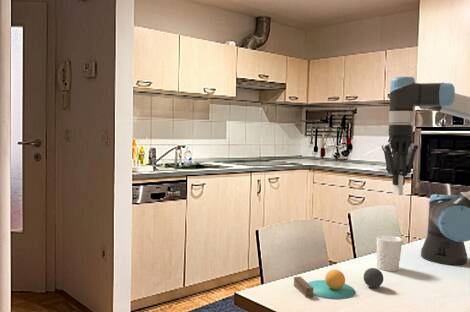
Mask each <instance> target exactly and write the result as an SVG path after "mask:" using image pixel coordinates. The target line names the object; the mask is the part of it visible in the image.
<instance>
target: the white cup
mask: <svg viewBox="0 0 470 312" xmlns="http://www.w3.org/2000/svg"><path fill="white" fill-rule="evenodd" d="M402 246H403V239H402V238H401V237H397V236H394V235H377V236H376V267H377V268H376V269H378V270H380V271H386V272H397V271H398V270H399V269H400V262H401V261H400V260H401V253H402Z"/></svg>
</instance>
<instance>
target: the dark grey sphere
mask: <svg viewBox="0 0 470 312" xmlns="http://www.w3.org/2000/svg"><path fill="white" fill-rule="evenodd" d="M363 281H364V283H365V284H366V285H367V287H369V288H372V289H373V288H374V289H375V288H379V287H380V286H382V284H383V282H384V274H383V273H382V270H381V269H379V268H376V267H371V268H368V269H366V270H365V271H364V273H363Z"/></svg>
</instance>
